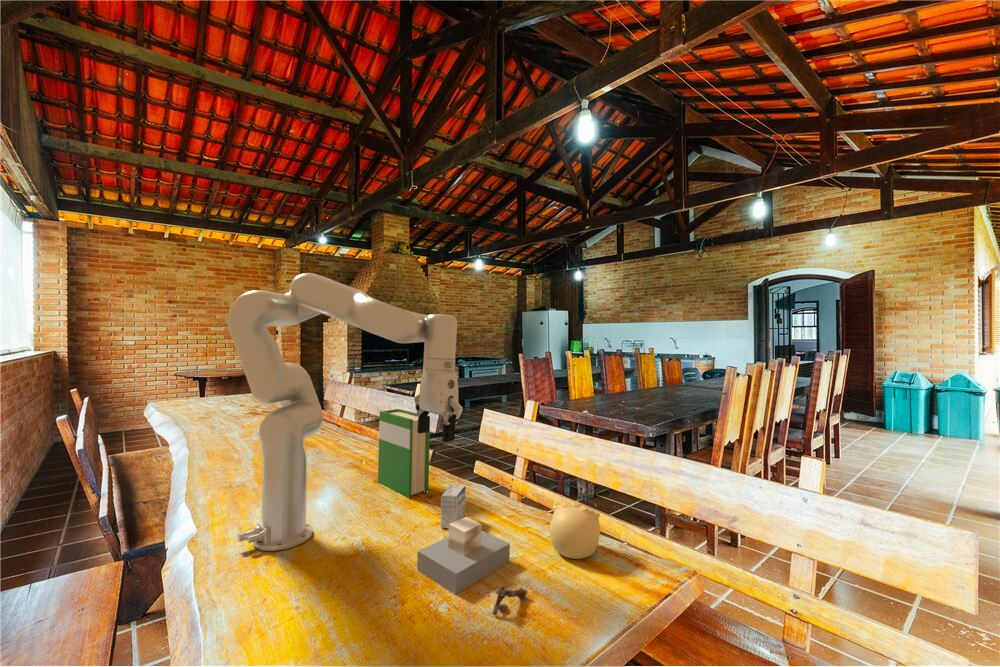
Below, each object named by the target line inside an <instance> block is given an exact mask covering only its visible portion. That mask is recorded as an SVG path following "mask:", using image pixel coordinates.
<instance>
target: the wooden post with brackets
mask: <svg viewBox="0 0 1000 667" xmlns="http://www.w3.org/2000/svg"><path fill="white" fill-rule="evenodd" d="M495 593H496V595H497V597H496V601H495V604H494V606H493V610H492V615H494V616H497V615H498V612H499V611H501V612H502V613H504V612H506V611H505V610H508V609H509V606H508V604H506V603H501V602H502V601H504V600H503V599H505V597H508V598H515V597H516V598H518V599H521V600H522V601H523V600H524V601H525V600H526V598H527V594H528V590H527V589H526V588H524V587H522V586H519V587H518V589H515V590H514V589H508V588H506V589H505V586H500V587H497V589H496V591H495ZM507 608H508V609H507Z"/></svg>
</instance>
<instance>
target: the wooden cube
mask: <svg viewBox="0 0 1000 667" xmlns="http://www.w3.org/2000/svg"><path fill="white" fill-rule="evenodd" d="M481 530H482V523H480V522H478V521H476V520H473V519H471V518H469V517H466V516H465V517H464V518H462V519H460V520H457V521H455V522H453V523H450V524H449V529H448V537H449V538H448V547H449V548H451V549H452V550H454V551H456V552H458V553H459V554H461V555H463V556H465V555H467V554H469V553H471V552H473V551H475V550H477V549H479V548H480V547H481Z"/></svg>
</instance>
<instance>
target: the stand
mask: <svg viewBox="0 0 1000 667" xmlns="http://www.w3.org/2000/svg"><path fill="white" fill-rule="evenodd" d="M448 538H449V536H447V537H445V538H443V539H441V540H439V541H436V542H435V543H432V544H430V545H427V546H426V547H424V548H422V549H419V550H418V551H417V566H416V567H417V569H416V570H417V571H418V572H420V574H422V575H425V577H427V578H429V579H430V580H432V581H434V582H435V583H437V584H438V585H440V586H441V587H442V588H444V589H446V590H448V591H449V592H451V593H452V594H454V595H458V594H459V593H461V592H462V591H464V590H466V589H468V588H469V587H470V586H472V585H474V584H476V583H477V582H479V581H480V580H482V579H484V578H485V577H487V576H489V575H490V574H492V573H493V572H495V571H497V570H498V569H500V568H502V567H503V566H505V565H506V564H507V563H509V562H510V555H511V554H510V551H511V549H510V548H511V543H509V542H507V541H505V540H503V539H501V538H499V537H496V536H495V535H493V534H491V533H488V532H486V531H483V530H482V529H481V547H480V548H479V549H477V550H475V551H473V552H471V553H469V554H467V555H465V556H463V555H461V554H459V553H458V552H456V551H454V550H452V549H451V548H449V547H448Z"/></svg>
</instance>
